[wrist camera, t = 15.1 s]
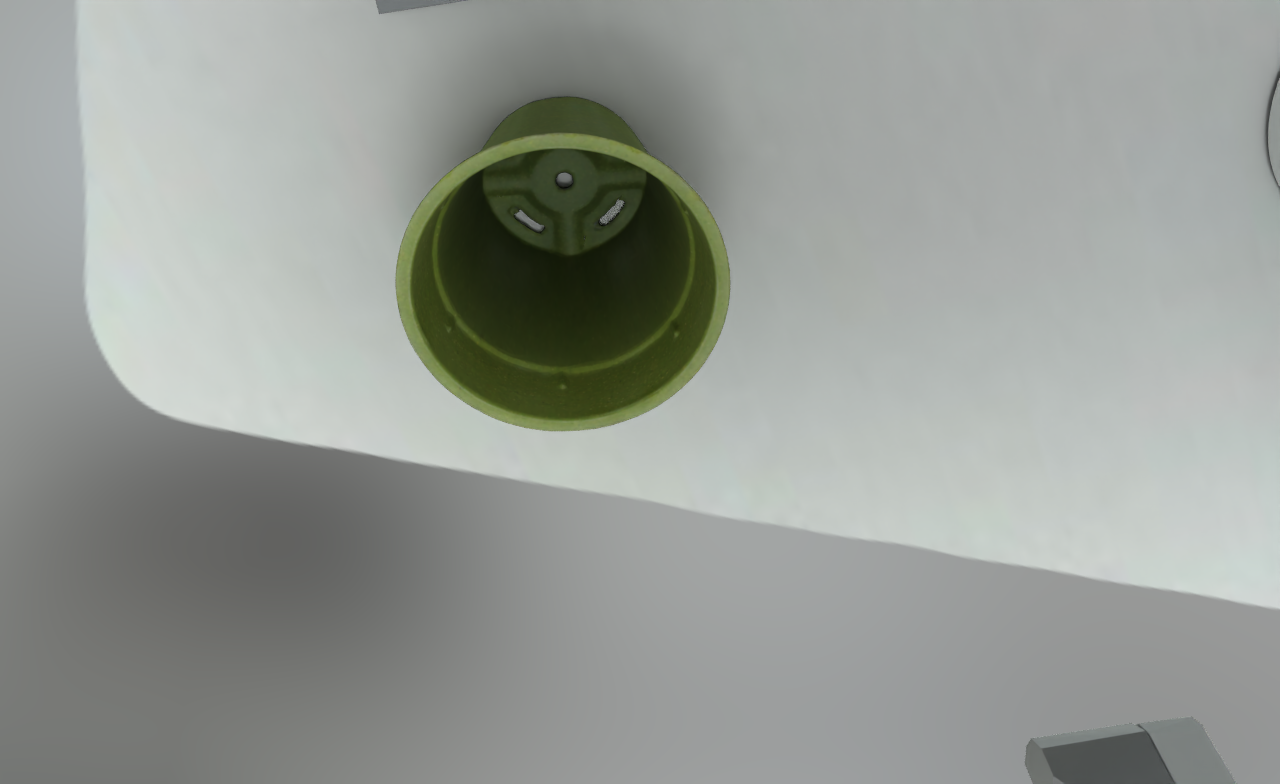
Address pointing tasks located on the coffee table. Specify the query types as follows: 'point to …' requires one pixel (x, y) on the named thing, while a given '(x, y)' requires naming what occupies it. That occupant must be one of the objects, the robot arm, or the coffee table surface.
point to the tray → (407, 4)
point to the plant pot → (563, 274)
